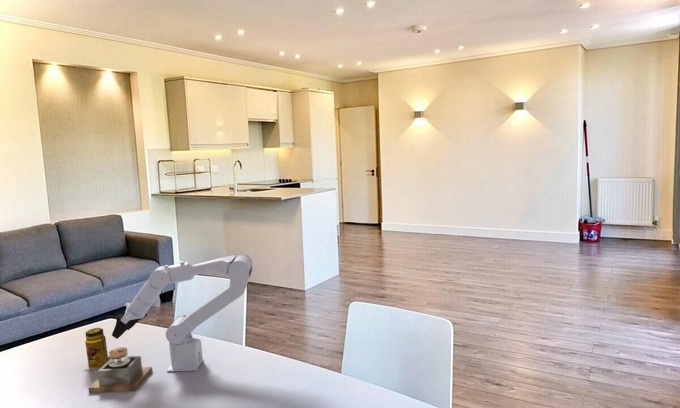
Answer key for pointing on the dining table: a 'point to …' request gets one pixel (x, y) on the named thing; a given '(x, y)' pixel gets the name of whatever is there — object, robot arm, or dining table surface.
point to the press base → (121, 377)
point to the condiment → (96, 348)
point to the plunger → (118, 357)
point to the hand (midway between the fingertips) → (120, 332)
